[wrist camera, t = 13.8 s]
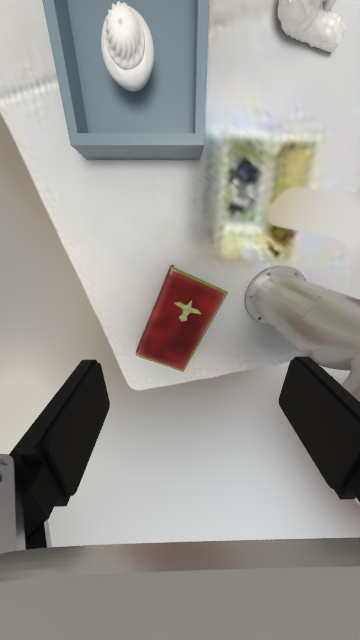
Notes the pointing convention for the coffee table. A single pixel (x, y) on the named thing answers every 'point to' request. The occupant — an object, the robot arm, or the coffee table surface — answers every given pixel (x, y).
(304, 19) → the white creature statuette
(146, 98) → the bin
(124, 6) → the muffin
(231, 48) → the coffee table surface
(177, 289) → the hardcover book
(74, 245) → the coffee table surface
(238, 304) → the coffee table surface
